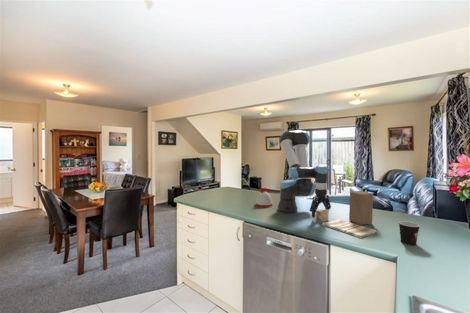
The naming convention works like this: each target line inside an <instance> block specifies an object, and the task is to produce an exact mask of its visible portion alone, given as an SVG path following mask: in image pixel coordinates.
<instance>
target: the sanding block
mask: <svg viewBox="0 0 470 313" xmlns="http://www.w3.org/2000/svg"><path fill="white" fill-rule="evenodd" d="M319 221H320V223H322V222H323V223H325V222H327V221H329V214H328V211H325V210H324V209H322V208H321V209H320V208H317V210H316V222H319Z"/></svg>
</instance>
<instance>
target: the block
mask: <svg viewBox="0 0 470 313" xmlns="http://www.w3.org/2000/svg"><path fill="white" fill-rule="evenodd" d="M373 205H374V194H373V193H372V192H367V191H363V190H356V191H350V193H349V215H348V216H349V218H348V219H349V220H348V221H350V222H351V223H353V224H356V225H360V226H363V225H364V226H365V225H371V224H372V223H373V211H374V210H373V207H374V206H373Z"/></svg>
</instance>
